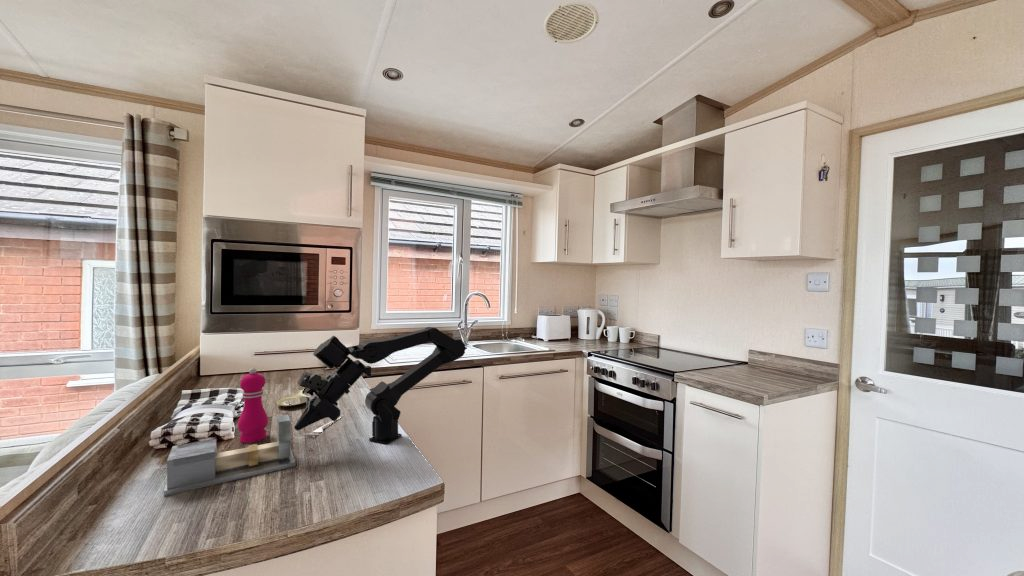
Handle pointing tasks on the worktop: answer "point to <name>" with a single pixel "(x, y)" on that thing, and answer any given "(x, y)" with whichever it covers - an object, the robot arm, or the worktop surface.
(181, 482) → the grey long blocky piece
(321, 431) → the fork
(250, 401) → the pepper mill
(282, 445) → the shaft
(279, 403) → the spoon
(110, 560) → the worktop surface
